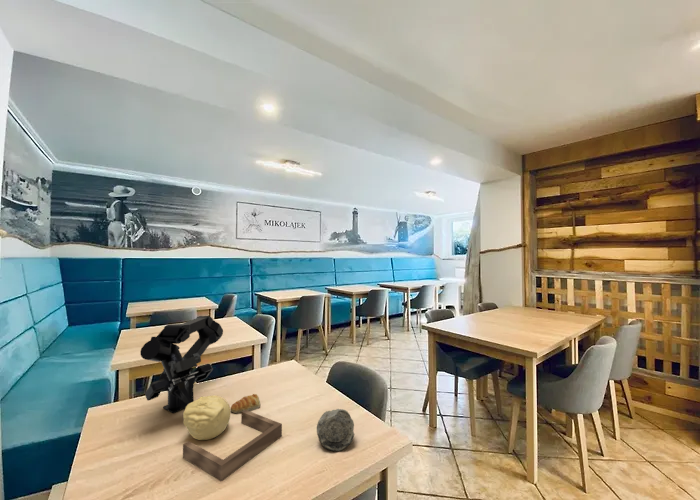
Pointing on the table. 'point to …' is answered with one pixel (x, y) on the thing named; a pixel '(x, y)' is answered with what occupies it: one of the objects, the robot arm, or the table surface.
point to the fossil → (335, 429)
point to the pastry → (246, 404)
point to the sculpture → (206, 417)
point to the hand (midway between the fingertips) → (191, 404)
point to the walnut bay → (242, 455)
